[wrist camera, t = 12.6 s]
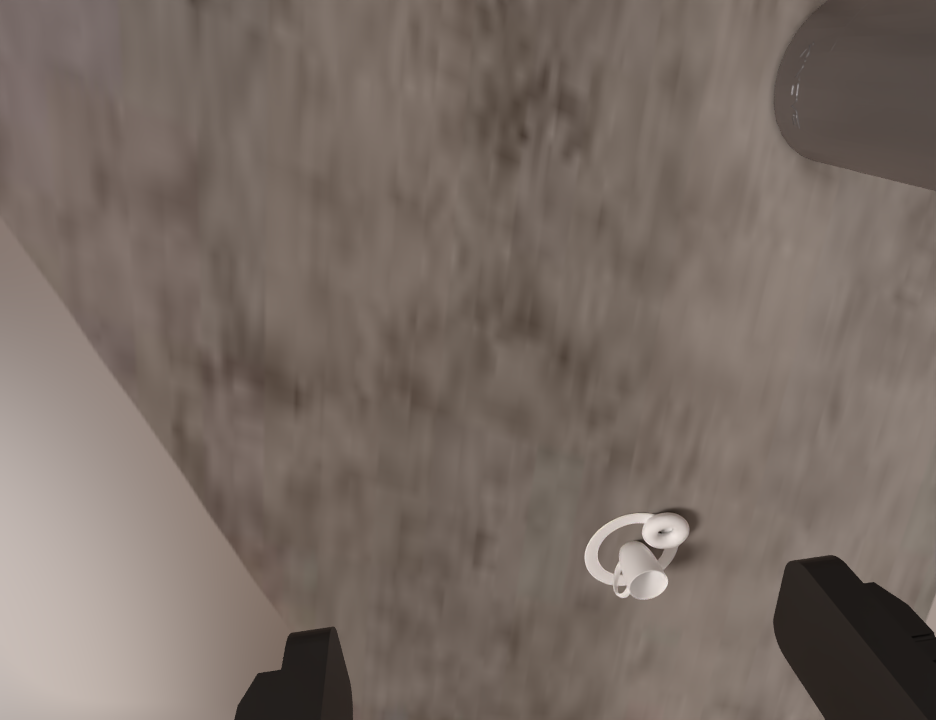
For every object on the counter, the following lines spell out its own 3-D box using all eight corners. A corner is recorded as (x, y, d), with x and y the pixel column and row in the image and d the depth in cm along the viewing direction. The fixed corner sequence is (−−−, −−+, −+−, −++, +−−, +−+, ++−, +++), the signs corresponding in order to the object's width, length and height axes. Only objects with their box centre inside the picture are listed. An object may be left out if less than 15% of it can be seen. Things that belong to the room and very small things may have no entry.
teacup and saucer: (675, 492, 48) (698, 527, 44) (693, 558, 51) (715, 596, 48) (571, 529, 48) (586, 568, 45) (596, 592, 52) (611, 632, 48)
